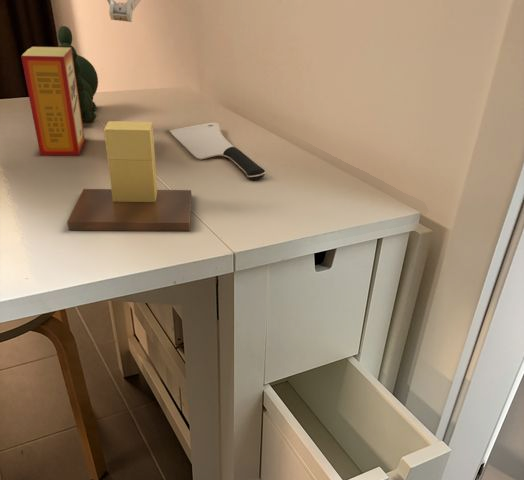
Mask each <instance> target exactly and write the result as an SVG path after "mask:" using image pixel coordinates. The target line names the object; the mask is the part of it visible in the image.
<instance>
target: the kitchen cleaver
mask: <svg viewBox="0 0 524 480" xmlns="http://www.w3.org/2000/svg"><path fill="white" fill-rule="evenodd" d="M220 128H221V127H220V124H219V123H218V122H207V123H203V124H196V125H191V126H185V127H180V128H175V129H170V130H169V133H170V134H171V135H172V136H173V138H175V140H176V141H178V142H179V143H180V144H181V145H182V146H183V147H184V148H185V149H186V150H187V151H188V152H189V153H190V155H192V156H193V157H194V158H195V159H197V160H200V161H201V160H205V159H209V158H213V157H221V156H222V158H225V159H226V160H229V161H231V162H232V163H233V164H234V165H236V167H238V169H240V170H241V171H242V172H243V173H244V174H245V175H246V178H248V179H249V180H251V181H258V180H260V179H262V178H263V177H264V176H265V175H266V170H265V169H264V168H263V167H262V166H260V165H259V164H258V163H256V162H255V161H254V160H252V159H251V158H250V157H249V156H248V155H246V154H245V152H243V151H242V150H240V149H239V148H237V147H236V146H234V145H233V144H232V143H230V142H229V140H227V139H226V138H225V136H224V134H223V133H222V130H221V129H220Z"/></svg>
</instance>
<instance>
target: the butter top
mask: <svg viewBox="0 0 524 480" xmlns="http://www.w3.org/2000/svg"><path fill="white" fill-rule="evenodd" d="M153 127H154V126H153V122H152V121H122V120H121V121H119V120H118V121H116V120H114V121H113V120H107V123H106V124H105V127H104V129H103V133H104V141H105V148H106V157H107V160H108V159H110V160H152V159H153V155H154V152H155V141H154V139H155V138H154V128H153Z"/></svg>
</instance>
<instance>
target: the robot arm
mask: <svg viewBox="0 0 524 480" xmlns="http://www.w3.org/2000/svg"><path fill="white" fill-rule="evenodd" d="M141 1H142V0H127V1H126V2H120V1H115V0H107V3H108V6H109V9H108V13H109V17H110V20H111V21H118V22H119V21H120V22H122V21H123V22H129V23H133V12H134V11H135V9H136V8H137V7H138V5H139V4H140V2H141Z"/></svg>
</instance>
